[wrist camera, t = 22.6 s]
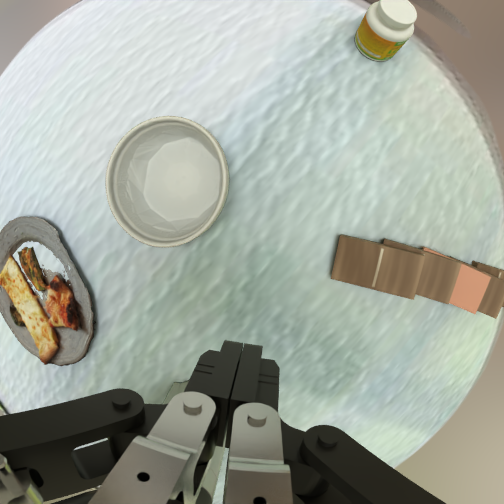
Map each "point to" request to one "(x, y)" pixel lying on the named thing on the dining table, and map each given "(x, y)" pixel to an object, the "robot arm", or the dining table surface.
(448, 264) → the domino
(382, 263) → the domino
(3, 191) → the dining table surface
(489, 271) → the domino
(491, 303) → the domino
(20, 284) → the food plate
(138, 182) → the ramekin
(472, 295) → the domino
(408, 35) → the supplement bottle
